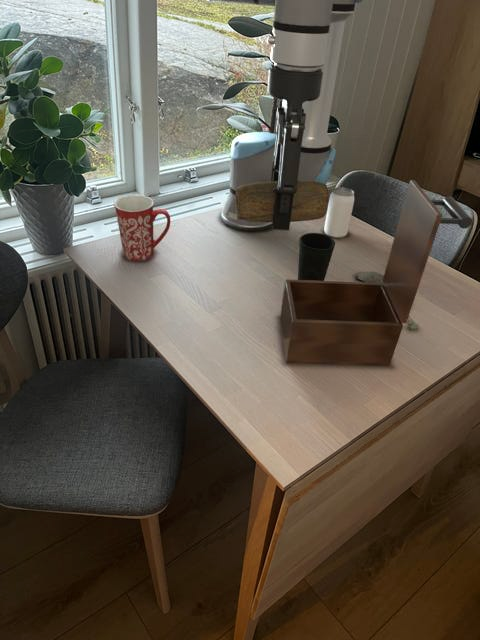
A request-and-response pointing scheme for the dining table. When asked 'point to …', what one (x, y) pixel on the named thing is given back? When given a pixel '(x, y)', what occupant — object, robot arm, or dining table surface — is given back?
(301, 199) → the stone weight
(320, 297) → the chest
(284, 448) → the dining table surface
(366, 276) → the soupspoon
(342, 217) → the can
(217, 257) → the dining table surface
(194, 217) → the dining table surface
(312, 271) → the cup
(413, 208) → the lid
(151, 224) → the mug
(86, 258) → the dining table surface
